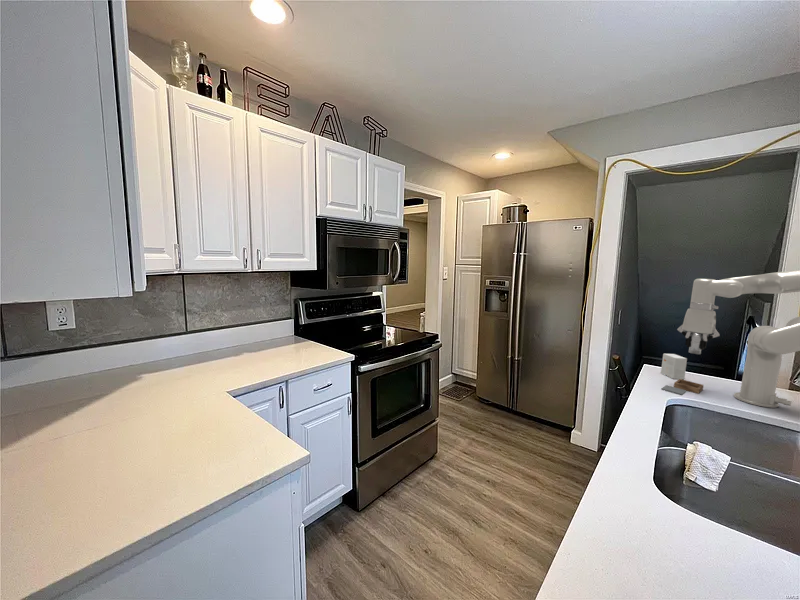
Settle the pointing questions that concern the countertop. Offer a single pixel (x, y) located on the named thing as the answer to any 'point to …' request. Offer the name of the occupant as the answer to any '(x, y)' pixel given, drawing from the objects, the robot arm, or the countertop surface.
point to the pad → (673, 390)
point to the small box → (674, 366)
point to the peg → (695, 343)
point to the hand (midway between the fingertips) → (695, 347)
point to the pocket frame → (688, 386)
